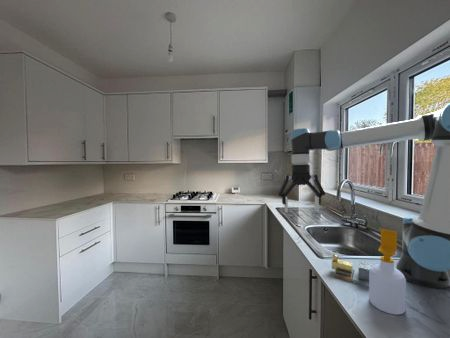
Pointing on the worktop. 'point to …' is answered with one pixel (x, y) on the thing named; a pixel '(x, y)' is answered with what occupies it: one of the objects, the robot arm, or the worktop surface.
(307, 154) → the robot arm
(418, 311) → the worktop surface
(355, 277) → the panel
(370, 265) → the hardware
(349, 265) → the bolt
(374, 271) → the soap bottle
